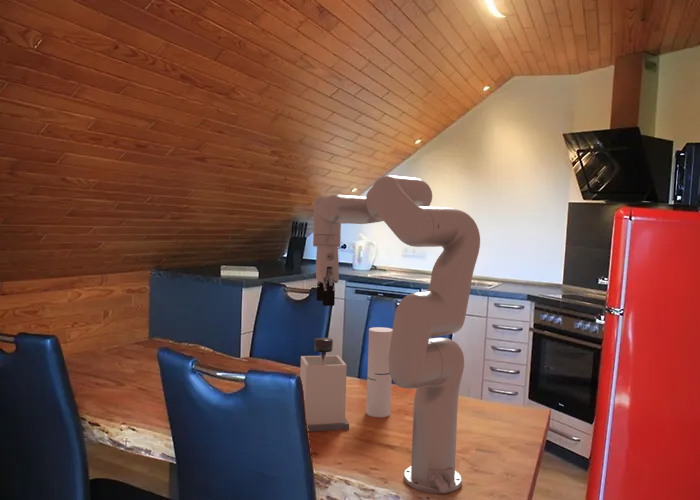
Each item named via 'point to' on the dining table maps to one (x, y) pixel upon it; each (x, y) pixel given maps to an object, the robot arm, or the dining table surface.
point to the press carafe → (324, 392)
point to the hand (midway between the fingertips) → (325, 303)
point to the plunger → (323, 347)
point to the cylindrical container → (379, 373)
